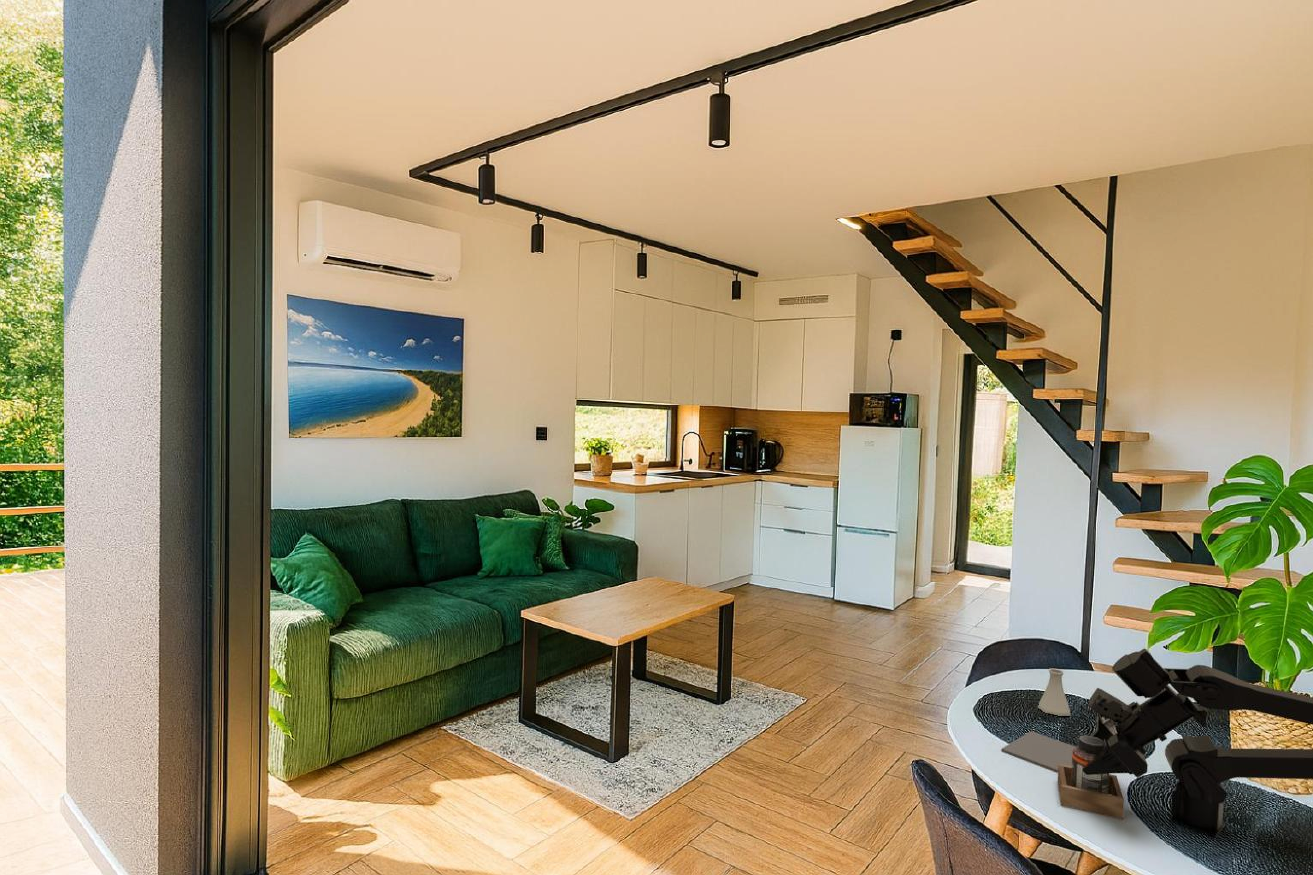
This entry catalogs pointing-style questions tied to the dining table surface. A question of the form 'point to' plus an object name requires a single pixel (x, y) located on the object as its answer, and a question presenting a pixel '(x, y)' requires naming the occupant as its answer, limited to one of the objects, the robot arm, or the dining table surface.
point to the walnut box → (1090, 795)
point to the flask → (1054, 696)
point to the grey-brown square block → (1041, 751)
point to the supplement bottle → (1080, 758)
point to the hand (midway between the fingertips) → (1081, 762)
